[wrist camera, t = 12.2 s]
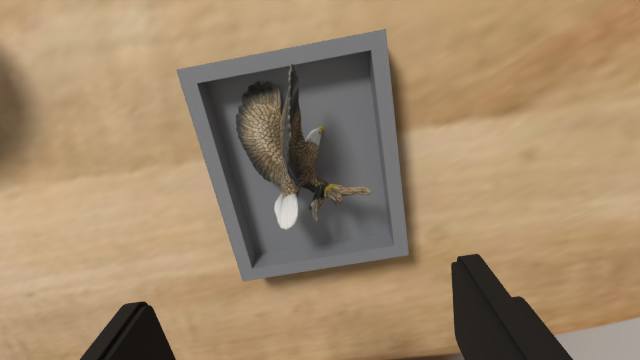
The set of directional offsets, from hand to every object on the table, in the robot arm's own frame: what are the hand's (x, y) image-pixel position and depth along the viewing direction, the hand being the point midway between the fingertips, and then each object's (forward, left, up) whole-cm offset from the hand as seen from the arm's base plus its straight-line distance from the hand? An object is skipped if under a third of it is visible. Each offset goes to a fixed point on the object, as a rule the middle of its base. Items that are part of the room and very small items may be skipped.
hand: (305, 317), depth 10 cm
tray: (0, 0, -17) cm, 17 cm away
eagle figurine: (+1, -2, -16) cm, 16 cm away
